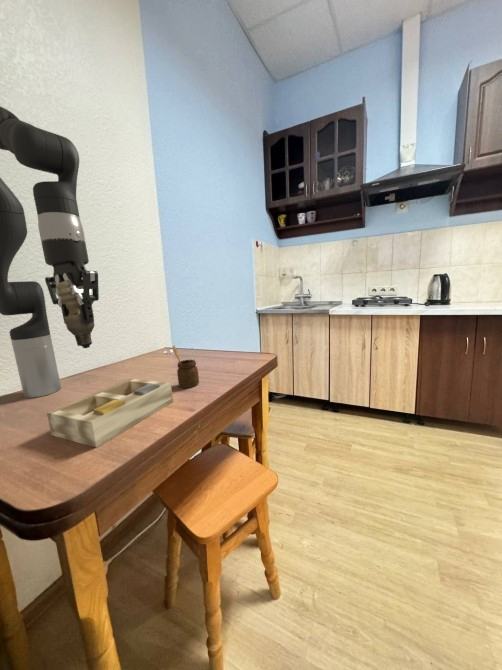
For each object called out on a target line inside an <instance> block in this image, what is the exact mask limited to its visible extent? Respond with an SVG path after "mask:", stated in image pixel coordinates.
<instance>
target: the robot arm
mask: <svg viewBox="0 0 502 670" xmlns="http://www.w3.org/2000/svg"><path fill="white" fill-rule="evenodd" d="M0 150H3V151H8V152H10V153H11V154H13V155H14V158H15V159H16V160H17V161H16V162H18V163H19V164H20V165H22V166H24V167H26V168H29V169H33V170H35V171H40V172H45V173H48V174H53V175H56V176H57V181H56V180H55V181H51V180H49V181H39V182H36V183H35V184H34V185H33V187H32V195H33V199H34V203H35V204H34V205H35V208H36V213H37V215H36V216H37V222H38V223H37V225H38V232H39V237H40V242H41V247H42V252H43V257H44V261H45V264H46V265H48V266H51V267H53V273H52V274H53V275H52V276H46V277H45V278H44V280H45V284H46V287H47V290H48V293H49V296H50V299H51V301H52V304H53V305H57V306H58V307H59V308H61V314H62V318H63V322H64V324H65V325H66V323H65V319H64V317H66V316H67V315H69V310H68V309H67V307H66V305H64V304H62V303H61V302H60V299H61V297H60V296H59V295H58V291H59V290H58V289H57V288H56V286H57V284H58V283H60V282H63V281H69V282H70V285H69V287H70V288H71V293H72V294H73V295H74V296H76V298H77V300H78V303H79V304H80V305H81V306H79V309H80V315H81V320H82V323H83V324H87V323H93V322H94V323H95V319H94V318H95V315H94V310H93V304H94V302H97V301H99V299H100V296H99V294H100V293H99V292H100V291H99V290H100V289H99V273H98V271H97V270H87V268H86V266H85V265H88V264H89V256H88V255H89V254H88V249H87V245H86V244H87V243H86V236H85V232H84V228H83V224H82V221H81V218H80V212H79V206H78V202H77V201H78V200H77V184H78V183H77V182H78V175H79V174H78V173H79V169H80V155H79V154H80V153H79V151H78V149H77V147H76V146H75V144H74V143H73V142H72V141H71V140H70V139H69V138H67V137H65V136H63V135H60V134H57V133H54V132H51V131H48V130H45V129H42V128H39V127H36V126H34V125H33V124H30V123H29V122H25V121H23V120H21V119H20V118H18V117H17V116H16V115H15V114H14V113H13V112H11V111H10V110H8V109H7V108H5V107H2V106H0ZM26 220H27V219H26V215H25V209H24V206H23V205H22V203H21V201H20V200H19V199H18V197H17V195H15V193H14V192H13V191H12V190H11V188H10V187H9V186H8V185H7V184H6V183H5V181H4V180H3V179H2V178H1V177H0V315H2V316H17V315H28V314H31V318H30V319H29V320H27V321H26V322H24V323H22V324H20V325H18V326H14V327H13V328H11V329H10V330H9V336H10V341H11V345H12V350H13V354H14V358H15V362H16V363H15V364H16V367H17V371H18V376H19V381H20V384H21V389H22V394H23V397H24V398H28V399H29V398H38V397H44V396H47V395H50V394H51V395H52V394H54V393H56V392H58V391H59V390H61V388H62V385H61V381H60V375H59V370H58V365H57V360H56V355H55V351H54V346H53V341H52V337H51V331H50V326H49V325H50V324H49V319H48V314H47V309H46V308H47V305H46V299H45V293H44V290H43V287H42V285H41V284H40V283H39V282H37V281H33V280H32V281H30V280H29V281H28V280H27V281H26V280H25V281H9V280H8V277H9V272H10V267H11V265H12V262H13V260H14V259H15V256H16V255H17V254H18V252H19V250H20V249H21V247H22V246H23V244H24V243H25V240H26V238H27V235H28V227H27V221H26ZM78 286H83V289H77V288H76V287H78ZM91 293H92V294H91ZM81 294H83V296H84V298H83V297H82V295H81Z"/></svg>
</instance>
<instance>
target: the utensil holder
mask: <svg viewBox="0 0 502 670" xmlns="http://www.w3.org/2000/svg"><path fill="white" fill-rule="evenodd" d="M172 348H173V352H174V354H175V357H177V359H178V362H177V371H176V372H177V383H178V387H180V388H182V389H188V388H194V387H196V386H198V385H199V383H200V378H199V377H200V376H199V369H198V367H197V366H196V365H197V362H196V359H195V358H196V356H197V355H196V354H194V351H193V350H194V348H193V347H191V348H190V350H191V351H188V354H187V356H186V357H187V358H188V359H184V360H180V358H179V352H178V350H177V348H176V346H175V345H173V346H172ZM191 353H192V354H191ZM189 355H194V356H193V357H192V356H189Z"/></svg>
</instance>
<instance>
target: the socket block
mask: <svg viewBox="0 0 502 670" xmlns="http://www.w3.org/2000/svg"><path fill="white" fill-rule="evenodd" d="M173 397H174V396H173V391H172V383H171V382H165V381H153V380H148V379H147V380H146V379H136V378H129V379H126V380H124V381H121V382H119V383H116V384H114V385H111V386H109V387H107V388H104V389H102V390H99V391H96V392H94V393H91V394H90V395H87V396H84V397H82V398H80V399H79V398H78V399H77V400H75V401H73V402H69V403H67V404H64V405H62V406H59V407H57V408H55V409H52V410H50V411H47V412H46V416H47V420H48V425H49V429H50V434H51V436H53V437H57V438H61V439H64V440H68V441H70V442H71V441H72V442H75V443H79V444H82V445H85V446H90V447H93V448H99V447H101V446H102V445H103V444H105V443H107V442H109V441H110V440H112V439H114V438H115V437H117V436H119V435H120V434H122V433H123V432H125V431H127V430H129V429H130V428H132V427H134V426H135V425H137V424H139V423H140V422H142V421H144V420H145V419H147V418H149V417H150V416H152V415H154V414H155V413H157V412H159V411H161V410H162V409H164V408H166V407H167V406H169V405H170V404H172V403H174V399H173Z"/></svg>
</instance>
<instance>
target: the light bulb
mask: <svg viewBox="0 0 502 670" xmlns="http://www.w3.org/2000/svg"><path fill="white" fill-rule="evenodd" d="M69 285H70V282H69V281H63V282H60V283H58V284H57V286H56V288H57V289H58V290H59V291H58V295H59V296H60V297H61V299H60V302H61V303H62V304H64V305H66V307H67V309H68V310H69V315H67V316H66V317H64V319H65V323H66V324H65V323H64V324H65V326H66V329H67V331H69V332H70V333H71V334H72V335H73V336H74V338H75V340H76V341H75V342H76V346H77V347H82V348H83V349H89V348H91V345H92V344H93V340H92V337H91V336H92V335H91V334H92V332H93V330H94V327H95V321H94V322H93V323H87V324H83V323H82V320H81V315H80V309H79V306H81V305H80V304H79V303H78V300H77V298H76V296H74V295H73V294H72V293H71V288H70V287H69ZM76 288H77V289H83V286H78V287H76ZM58 295H57V296H58ZM81 295H82V297H83V298H84V296H83V294H81ZM64 319H63V320H64Z"/></svg>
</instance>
